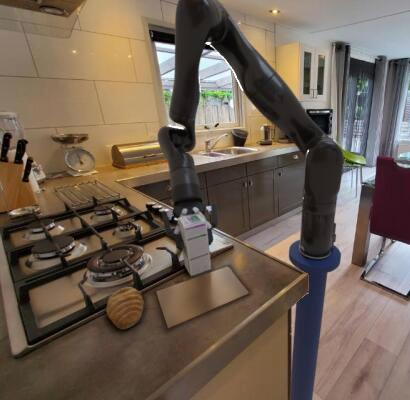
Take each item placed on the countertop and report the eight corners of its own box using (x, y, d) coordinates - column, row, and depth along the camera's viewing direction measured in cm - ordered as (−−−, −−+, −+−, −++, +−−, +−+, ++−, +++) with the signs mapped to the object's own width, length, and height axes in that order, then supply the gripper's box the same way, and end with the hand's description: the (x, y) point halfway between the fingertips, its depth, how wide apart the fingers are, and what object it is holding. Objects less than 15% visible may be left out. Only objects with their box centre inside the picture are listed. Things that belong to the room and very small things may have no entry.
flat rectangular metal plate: (227, 266, 67) (227, 266, 67) (249, 293, 58) (249, 293, 58) (156, 292, 58) (156, 291, 58) (167, 328, 49) (167, 328, 49)
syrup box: (212, 269, 66) (208, 220, 61) (189, 277, 63) (183, 226, 58) (204, 258, 71) (199, 211, 65) (183, 265, 68) (176, 217, 62)
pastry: (150, 321, 50) (147, 306, 49) (111, 338, 47) (107, 323, 45) (140, 294, 57) (137, 280, 56) (106, 307, 54) (101, 293, 52)
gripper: (155, 184, 63) (163, 249, 57) (213, 179, 68) (226, 237, 62) (158, 197, 69) (166, 256, 63) (211, 191, 74) (222, 245, 69)
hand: (195, 246), depth 63 cm, fingers closed on syrup box, 6 cm apart
